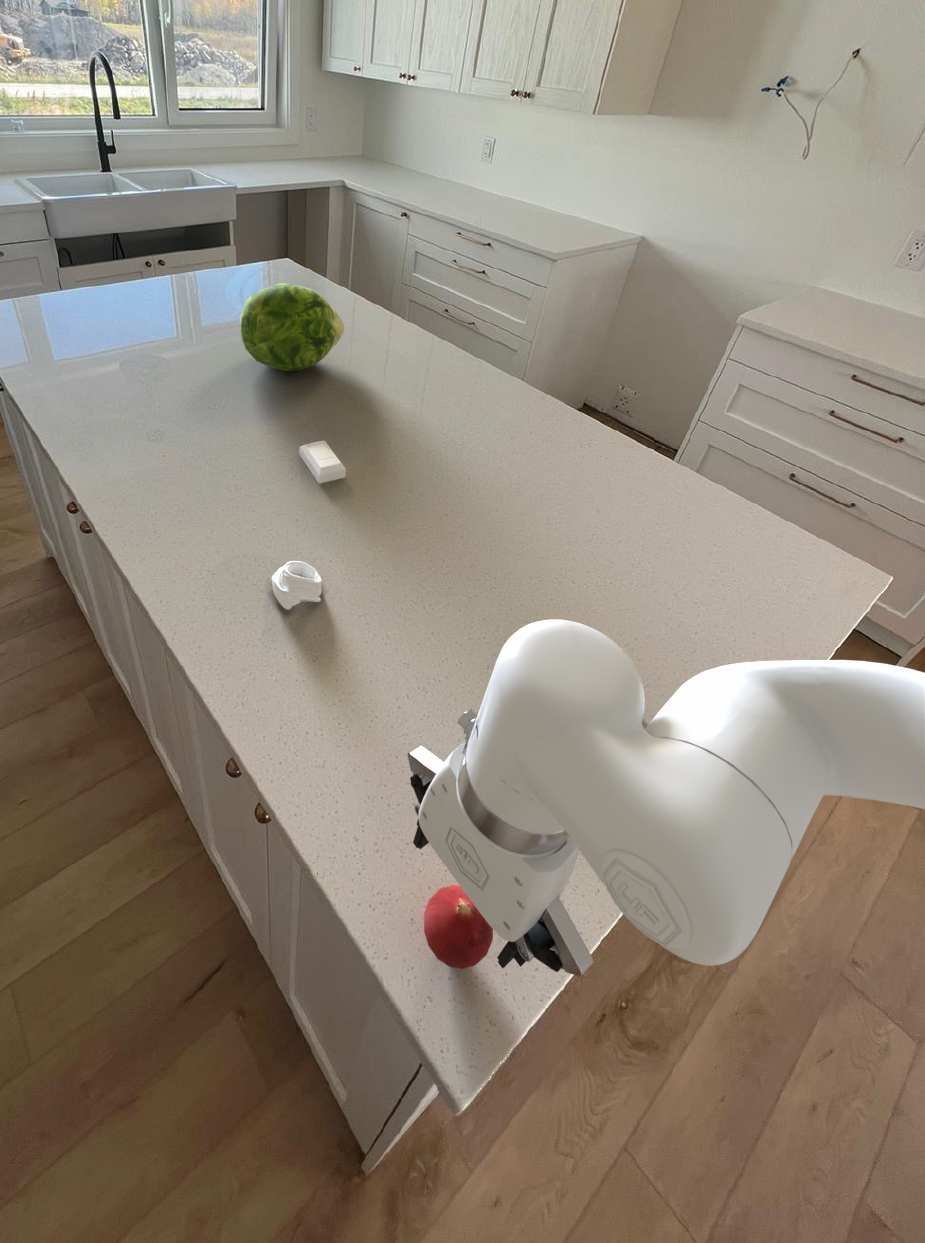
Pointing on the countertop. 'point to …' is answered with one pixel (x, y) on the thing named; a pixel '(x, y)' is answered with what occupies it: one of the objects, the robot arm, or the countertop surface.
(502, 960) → the robot arm
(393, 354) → the countertop surface
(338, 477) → the soap bar
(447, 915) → the onion
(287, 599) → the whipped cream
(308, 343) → the lettuce
